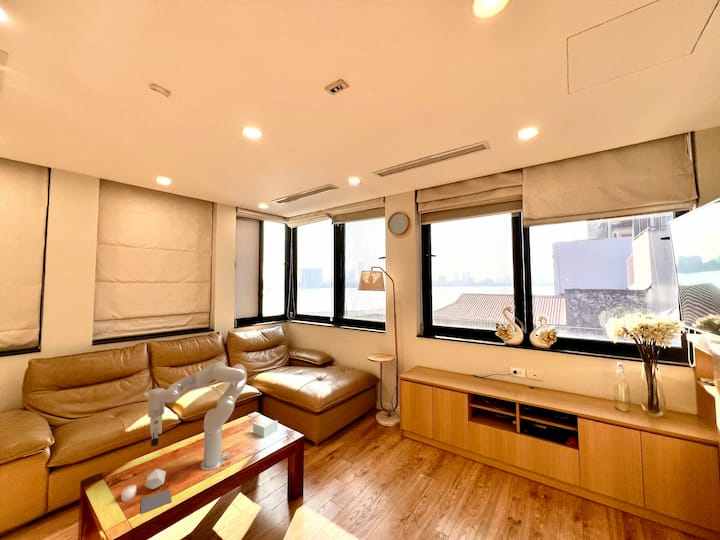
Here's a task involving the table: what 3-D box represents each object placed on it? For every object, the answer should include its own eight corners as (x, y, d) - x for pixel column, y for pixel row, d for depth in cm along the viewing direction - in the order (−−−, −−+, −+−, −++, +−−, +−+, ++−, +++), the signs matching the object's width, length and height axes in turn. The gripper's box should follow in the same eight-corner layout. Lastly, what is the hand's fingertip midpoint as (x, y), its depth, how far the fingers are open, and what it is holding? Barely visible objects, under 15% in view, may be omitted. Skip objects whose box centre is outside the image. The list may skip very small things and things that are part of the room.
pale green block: (277, 431, 207) (277, 420, 208) (263, 438, 197) (264, 427, 198) (266, 426, 214) (266, 416, 214) (253, 433, 204) (253, 423, 204)
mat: (169, 489, 149) (169, 488, 149) (171, 502, 140) (171, 501, 140) (141, 500, 142) (141, 499, 142) (140, 514, 133) (140, 513, 133)
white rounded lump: (136, 491, 148) (136, 483, 148) (136, 498, 143) (136, 489, 143) (121, 496, 144) (121, 488, 145) (120, 503, 140) (120, 495, 140)
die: (162, 480, 156) (162, 461, 156) (167, 487, 150) (168, 468, 151) (143, 489, 149) (143, 469, 150) (148, 497, 144) (148, 476, 144)
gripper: (165, 414, 156) (163, 449, 155) (163, 405, 168) (162, 437, 167) (148, 418, 151) (146, 454, 150) (147, 408, 163) (146, 441, 162)
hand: (154, 445), depth 158 cm, fingers closed
